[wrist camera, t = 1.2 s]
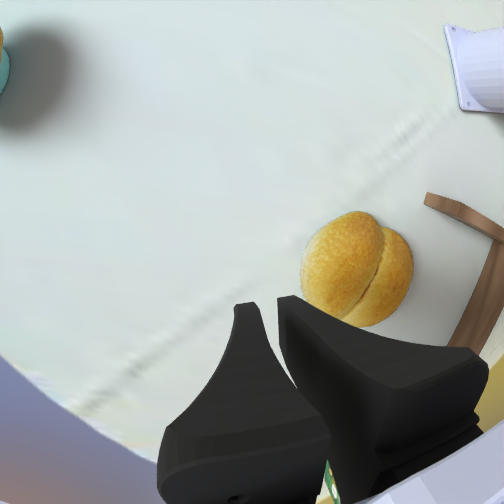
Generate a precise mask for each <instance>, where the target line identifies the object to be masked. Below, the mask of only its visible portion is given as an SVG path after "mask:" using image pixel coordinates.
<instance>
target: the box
mask: <svg viewBox="0 0 504 504" xmlns="http://www.w3.org/2000/svg"><path fill="white" fill-rule="evenodd" d="M424 204H425V205H428V206H430V207H432V208H434V209H436V210H438V211H440V212H442V213H444V214H446V215H448V216H450V217H452V218H454V219H456V220H458V221H460V222H462V223H464V224H466V225H468V226H470V227H472V228H474V229H476V230H477V231H479V232H481V233H483V234H485V235H487V236H489V237H490V238H492V239H494V241H493V243H492V246H491V249H490V252H489V255H488V257H487V260H486V263H485V265H484V268H483V270H482V273H481V275H480V278H479V280H478V283H477V285H476V287H475V290H474V292H473V294H472V297H471V299H470V301H469V303H468V305H467V307H466V310H465V312H464V314H463V316H462V318H461V320H460V322H459V324H458V326H457V328H456V330H455V332H454V334H453V336H452V338H451V339H450V341H449V343H448V345H447V347H469V348H470V349H471V350H472V351H474V352H475V353H476V354H477V355H478V356H479V354H480V352H481V350H482V348H483V347H484V345H485V343H486V341H487V339H488V337H489V335H490V333H491V332H492V330H493V328H494V326H495V324H496V322H497V320H498V317H499V315H500V313H501V311H502V309H503V307H504V228H502V227H501V226H499V225H498V224H496V223H495V222H493V221H491V220H490V219H488V218H487V217H485V216H483V215H482V214H480V213H478V212H477V211H475V210H473V209H472V208H470V207H468V206H467V205H465V204H463V203H461V202H458V201H455V200H452V199H449V198H446V197H442V196H439V195H436V194H432V193H429V192H427V195H426V198H425V201H424Z"/></svg>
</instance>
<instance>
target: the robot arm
mask: <svg viewBox="0 0 504 504" xmlns="http://www.w3.org/2000/svg"><path fill="white" fill-rule="evenodd" d="M444 30H445V34H446V38H447V42H448V46H449V50H450V55H451V59H452V64H453V69H454V74H455V80H456V85H457V92H458V98H459V105H460V107H461V109H462V110H471V111H484V112H495V113H504V27H501V28H495V29H490V30H485V31H480V32H474V31H471V30H468V29H465V28H461V27H458V26H455V25H451V24H445V25H444ZM467 104H468V105H467ZM277 304H278V326H279V346H280V349H281V352H282V355H283V358H284V361H285V364H286V367H287V369H288V371H289V373H290V375H291V377H292V379H293V381H294V383H295V385H296V387H297V388H296V387H295V385H294V384H293V382H292V381H291V380H290V378H289V377H288V376H287V374H286V372H285V371H284V369H283V368H282V366H281V364H280V363H279V361H278V359H277V358H276V356H275V354H274V352H273V350H272V348H271V346H270V344H269V341H268V339H267V335H266V331H265V328H264V324H263V321H262V317H261V313H260V310H259V308H258V306H257V305H256V304H255V303H254V302H249V303H242V304H236V305H235V307H234V323H233V327H232V331H231V335H230V339H229V341H228V344H227V347H226V350H225V352H224V354H223V357H222V359H221V361H220V363H219V365H218V367H217V369H216V370H215V372H214V374H213V375H212V377H211V378H210V380H209V382H208V383H207V385H206V386H205V387H204V389H203V390H202V391H201V393H200V394H199V395H198V396H197V397H196V399H195V400H194V401H193V402H192V403H191V405H190V406H189V407H188V408H187V409H186V410H185V411H184V412H183V413H182V414H181V415H180V416H179V417H177V418H176V419H175V420H174V421H173V422H172V423H171V424H170V425H168V426H167V427H166V429H165V432H164V436H163V439H162V442H161V446H160V450H159V456H158V462H157V489H158V491H159V494H160V496H161V497H162V498H163V500H164V501H165V502H166V504H315V503H316V498H317V495H320V492H321V488H322V483H323V478H324V473H325V468H326V463H327V460H328V463H329V466H330V469H331V472H332V475H333V478H334V481H335V484H336V487H337V491H338V494H339V498H340V501H341V504H504V420H502V421H501V422H499V423H498V424H497V425H495V426H494V427H493V428H491V429H490V430H488V431H487V432H486V433H483V431H482V430H481V429H480V428H479V427H478V426H477V425H476V424H477V423H478V422H479V420H480V419H479V416H478V415H477V414H476V413H475V412H474V409H475V407H476V405H477V403H478V401H479V399H480V397H481V395H482V393H483V391H484V388H485V386H486V383H487V381H488V374H489V368H488V364H487V363H486V362H485V361H484V360H483V359H481V358H480V357H479V356H478V355H477V354H476V353H475V352H474V351H472V350H471V349H470V348H469V347H441V346H430V345H422V344H415V343H409V342H404V341H399V340H395V339H391V338H387V337H383V336H380V335H377V334H374V333H371V332H368V331H365V330H362V329H359V328H357V327H354V326H352V325H350V324H348V323H346V322H343V321H341V320H339V319H337V318H335V317H333V316H331V315H329V314H327V313H325V312H324V311H322V310H320V309H318V308H316V307H315V306H313V305H311V304H309V303H308V302H306V301H304V300H302V299H301V298H299V297H297V296H295V295H292V296H286V297H280V298H277ZM0 504H9V503H6V502H3V501H0Z"/></svg>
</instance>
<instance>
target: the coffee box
mask: <svg viewBox="0 0 504 504" xmlns="http://www.w3.org/2000/svg"><path fill="white" fill-rule="evenodd" d="M325 482H326V484H327V487H328V489H329V492H330V494H331V496H332V498H333V501H334V503H335V504H341V501H340V498H339V494H338V491H337V487H336V484H335V481H334V478H333V475H332V472H331V469H330V466H329V463H328V460H327V463H326V469H325Z"/></svg>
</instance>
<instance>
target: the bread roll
mask: <svg viewBox="0 0 504 504" xmlns="http://www.w3.org/2000/svg"><path fill="white" fill-rule="evenodd" d="M412 275H413V257H412V253H411V250H410V247H409V246H408V244H407V242H406V241H405V240H404V239H403V238H402V237H401V236H400V235H399V234H398V233H396V232H395V231H393V230H391V229H388V228H384V227H381V226H379V225H378V223H377V222H376V220H375V219H374V218H373V217H372V216H371V215H369V214H367V213H364V212H359V211H354V212H350V213H347V214H344V215H342V216H340V217H338V218H336V219H334V220H333V221H331V222H329V223H328V224H327V225H325V226H324V227H322V228H321V229H320V230H319V231H317V232H316V233H315V234H314V235H313V236H312V237H311V239H310V240H309V242H308V244H307V245H306V247H305V250H304V252H303V256H302V259H301V267H300V283H301V289H302V292H303V295H304V297H305V299H306V300H307V302H308V303H309V304H311V305H313V306H315V307H316V308H318V309H320V310H322V311H324V312H325V313H327V314H329V315H331V316H333V317H335V318H337V319H339V320H341V321H343V322H346V323H348V324H350V325H352V326H354V327H357V328H358V327H367V326H372V325H375V324H378V323H379V322H381V321H383V320H384V319H386V318H387V317H389V316H390V315H391V314H393V312H394V311H395V310H396V309H397V308H398V306H399V305H400V304H401V302H402V301H403V299H404V297H405V295H406V293H407V291H408V289H409V285H410V283H411V279H412Z"/></svg>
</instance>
